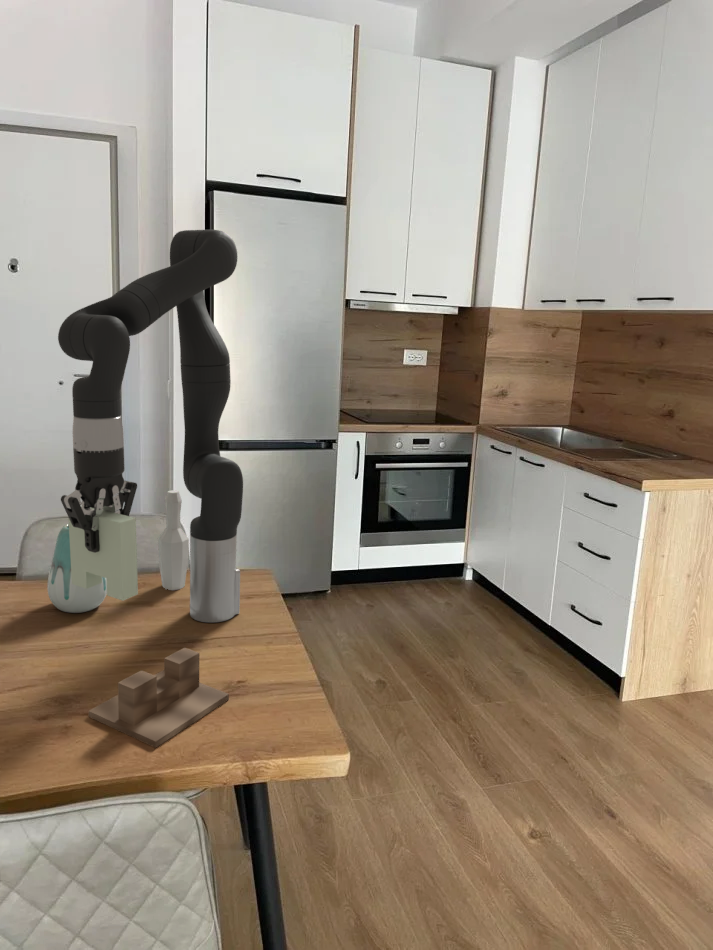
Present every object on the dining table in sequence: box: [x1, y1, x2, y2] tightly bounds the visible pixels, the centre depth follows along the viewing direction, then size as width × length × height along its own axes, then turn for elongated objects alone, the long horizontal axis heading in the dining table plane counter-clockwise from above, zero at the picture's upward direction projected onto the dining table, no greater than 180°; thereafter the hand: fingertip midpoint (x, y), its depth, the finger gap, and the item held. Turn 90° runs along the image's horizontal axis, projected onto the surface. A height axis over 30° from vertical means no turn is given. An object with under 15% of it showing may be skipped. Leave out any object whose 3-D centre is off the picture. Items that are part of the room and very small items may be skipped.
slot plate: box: [88, 647, 230, 749], centre depth 112 cm, size 16×14×7 cm
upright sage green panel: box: [67, 505, 139, 602], centre depth 117 cm, size 3×12×13 cm, turn 60°
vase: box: [46, 522, 107, 614], centre depth 146 cm, size 12×12×18 cm
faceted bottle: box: [157, 489, 190, 591], centre depth 158 cm, size 6×6×22 cm
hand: (102, 547), depth 116 cm, fingers closed on upright sage green panel, 3 cm apart
